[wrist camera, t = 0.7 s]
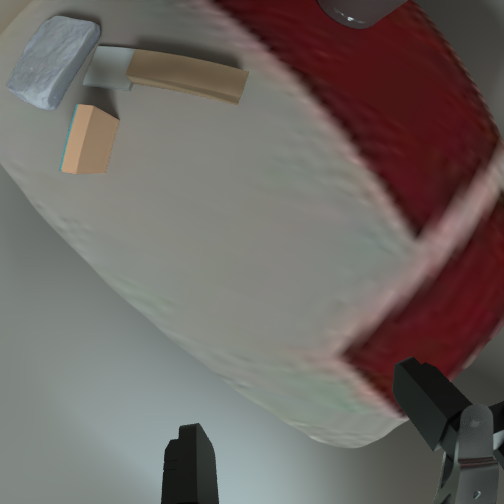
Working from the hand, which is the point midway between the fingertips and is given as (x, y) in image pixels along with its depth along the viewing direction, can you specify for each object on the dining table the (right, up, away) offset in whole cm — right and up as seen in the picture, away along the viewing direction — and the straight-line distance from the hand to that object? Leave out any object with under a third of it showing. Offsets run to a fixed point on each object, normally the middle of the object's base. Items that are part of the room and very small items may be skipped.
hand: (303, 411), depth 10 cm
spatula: (-12, +25, +17) cm, 33 cm away
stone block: (-26, +29, +14) cm, 42 cm away
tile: (-18, +18, +18) cm, 31 cm away
